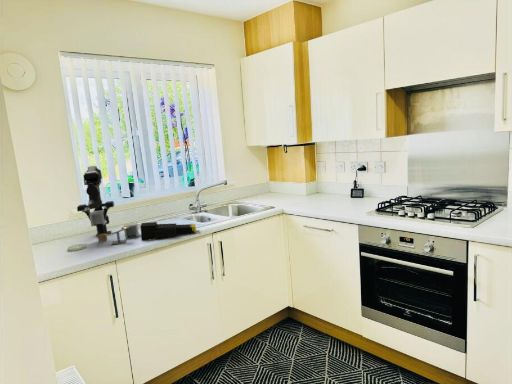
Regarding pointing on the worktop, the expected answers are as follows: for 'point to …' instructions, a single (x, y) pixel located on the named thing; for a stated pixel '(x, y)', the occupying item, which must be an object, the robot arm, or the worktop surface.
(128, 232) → the cover
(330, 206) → the worktop surface
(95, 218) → the cover
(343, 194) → the worktop surface
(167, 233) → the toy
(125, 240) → the balance
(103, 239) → the block
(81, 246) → the dish
